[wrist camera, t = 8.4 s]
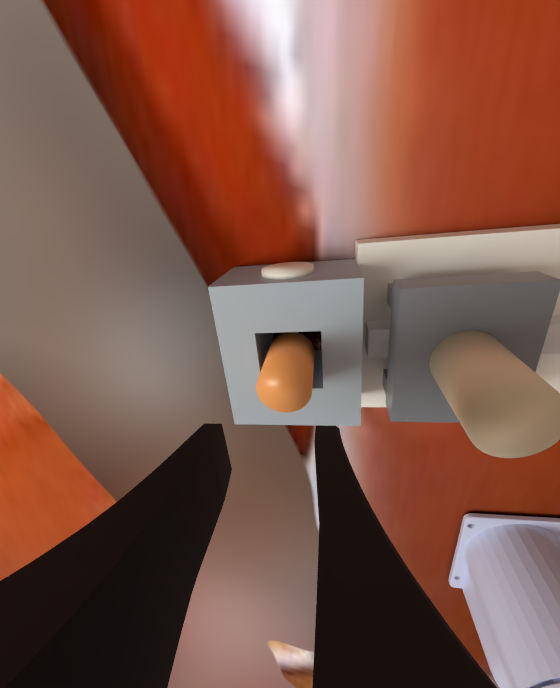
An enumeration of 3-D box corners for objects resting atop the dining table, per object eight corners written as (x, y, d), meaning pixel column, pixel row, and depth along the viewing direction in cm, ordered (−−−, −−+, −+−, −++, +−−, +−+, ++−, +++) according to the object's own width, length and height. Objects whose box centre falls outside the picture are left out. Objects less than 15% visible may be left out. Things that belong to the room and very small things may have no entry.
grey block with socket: (353, 380, 20) (360, 426, 16) (251, 381, 22) (234, 423, 18) (355, 253, 17) (364, 270, 13) (233, 261, 18) (206, 280, 14)
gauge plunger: (315, 372, 17) (313, 412, 13) (271, 372, 17) (259, 412, 14) (313, 330, 16) (310, 365, 12) (267, 332, 16) (252, 365, 13)
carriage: (492, 390, 17) (587, 502, 11) (381, 390, 18) (411, 493, 12) (521, 265, 14) (675, 320, 8) (388, 273, 15) (432, 328, 9)
